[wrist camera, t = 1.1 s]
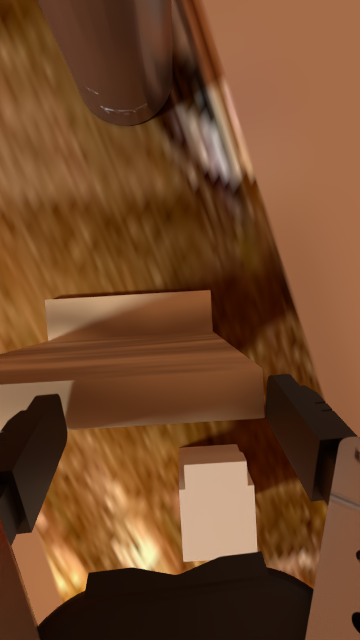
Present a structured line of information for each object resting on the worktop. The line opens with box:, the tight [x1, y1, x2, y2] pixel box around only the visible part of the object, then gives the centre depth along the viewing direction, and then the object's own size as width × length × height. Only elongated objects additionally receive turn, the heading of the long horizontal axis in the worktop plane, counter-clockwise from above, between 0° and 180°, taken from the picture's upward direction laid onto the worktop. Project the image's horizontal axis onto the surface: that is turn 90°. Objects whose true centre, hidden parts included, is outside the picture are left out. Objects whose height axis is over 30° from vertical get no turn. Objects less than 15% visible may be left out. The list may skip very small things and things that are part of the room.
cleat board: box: [0, 290, 265, 431], centre depth 21 cm, size 8×16×18 cm, turn 93°
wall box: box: [179, 444, 257, 562], centre depth 27 cm, size 9×6×7 cm
